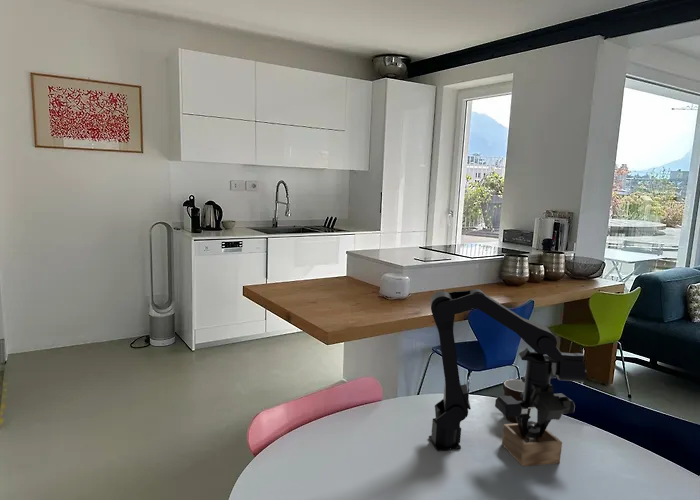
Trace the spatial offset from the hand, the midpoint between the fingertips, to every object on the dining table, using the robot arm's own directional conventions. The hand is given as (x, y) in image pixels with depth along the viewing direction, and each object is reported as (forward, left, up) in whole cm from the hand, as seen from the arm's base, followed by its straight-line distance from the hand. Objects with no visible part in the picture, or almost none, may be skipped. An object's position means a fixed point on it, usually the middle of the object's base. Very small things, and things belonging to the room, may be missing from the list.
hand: (531, 436), depth 124 cm
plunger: (0, 0, -3) cm, 3 cm away
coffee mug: (+7, +19, -5) cm, 21 cm away
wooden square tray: (0, 0, -4) cm, 4 cm away
